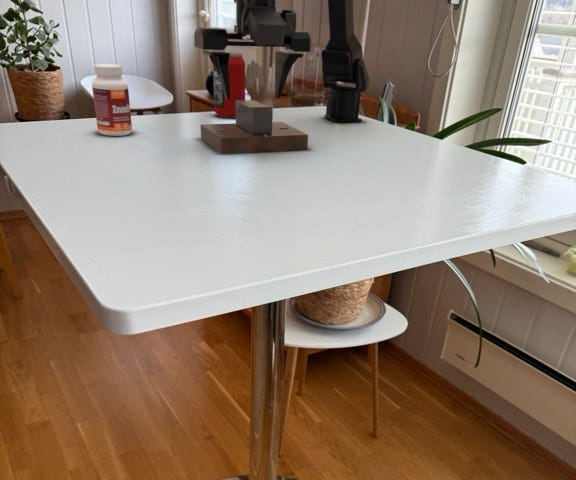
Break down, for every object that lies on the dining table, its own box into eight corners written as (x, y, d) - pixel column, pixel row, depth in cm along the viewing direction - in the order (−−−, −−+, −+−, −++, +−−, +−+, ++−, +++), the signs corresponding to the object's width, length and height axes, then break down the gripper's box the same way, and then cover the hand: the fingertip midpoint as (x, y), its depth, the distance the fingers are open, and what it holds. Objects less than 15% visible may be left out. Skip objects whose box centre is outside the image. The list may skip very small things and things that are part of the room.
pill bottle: (118, 138, 101) (110, 68, 95) (90, 133, 103) (81, 64, 96) (139, 132, 106) (133, 65, 99) (112, 128, 107) (104, 62, 101)
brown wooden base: (279, 135, 109) (280, 120, 108) (308, 150, 99) (309, 134, 98) (200, 138, 104) (199, 122, 102) (222, 154, 94) (221, 137, 92)
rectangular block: (235, 124, 103) (235, 98, 100) (254, 124, 104) (254, 98, 102) (252, 134, 96) (253, 107, 94) (272, 133, 97) (273, 106, 95)
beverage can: (215, 112, 127) (213, 51, 120) (245, 114, 127) (245, 52, 120) (213, 118, 121) (211, 53, 114) (244, 119, 122) (244, 55, 115)
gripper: (212, -16, 79) (215, 107, 88) (330, -8, 86) (322, 105, 94) (191, -16, 87) (195, 96, 96) (300, -9, 94) (295, 95, 103)
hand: (253, 98), depth 97 cm, fingers open, 9 cm apart
